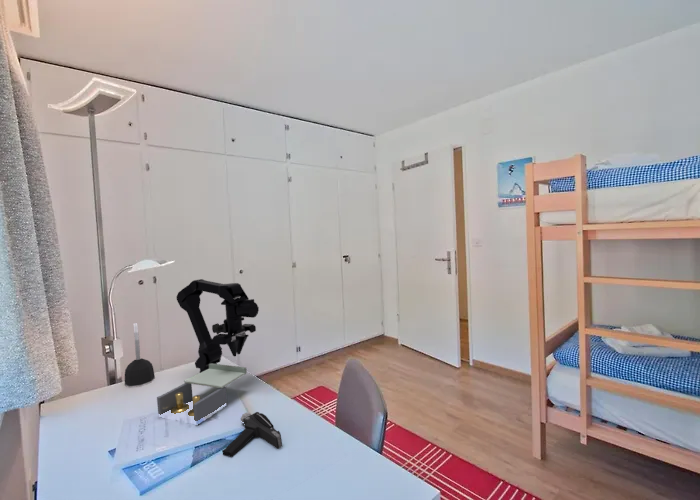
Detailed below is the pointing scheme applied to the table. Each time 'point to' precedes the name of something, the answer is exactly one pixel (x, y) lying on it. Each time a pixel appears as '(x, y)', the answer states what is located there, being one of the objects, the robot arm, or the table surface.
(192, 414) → the brass knob
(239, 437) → the toy gun
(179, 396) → the brass door knob
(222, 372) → the lid
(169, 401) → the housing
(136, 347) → the black plunger
